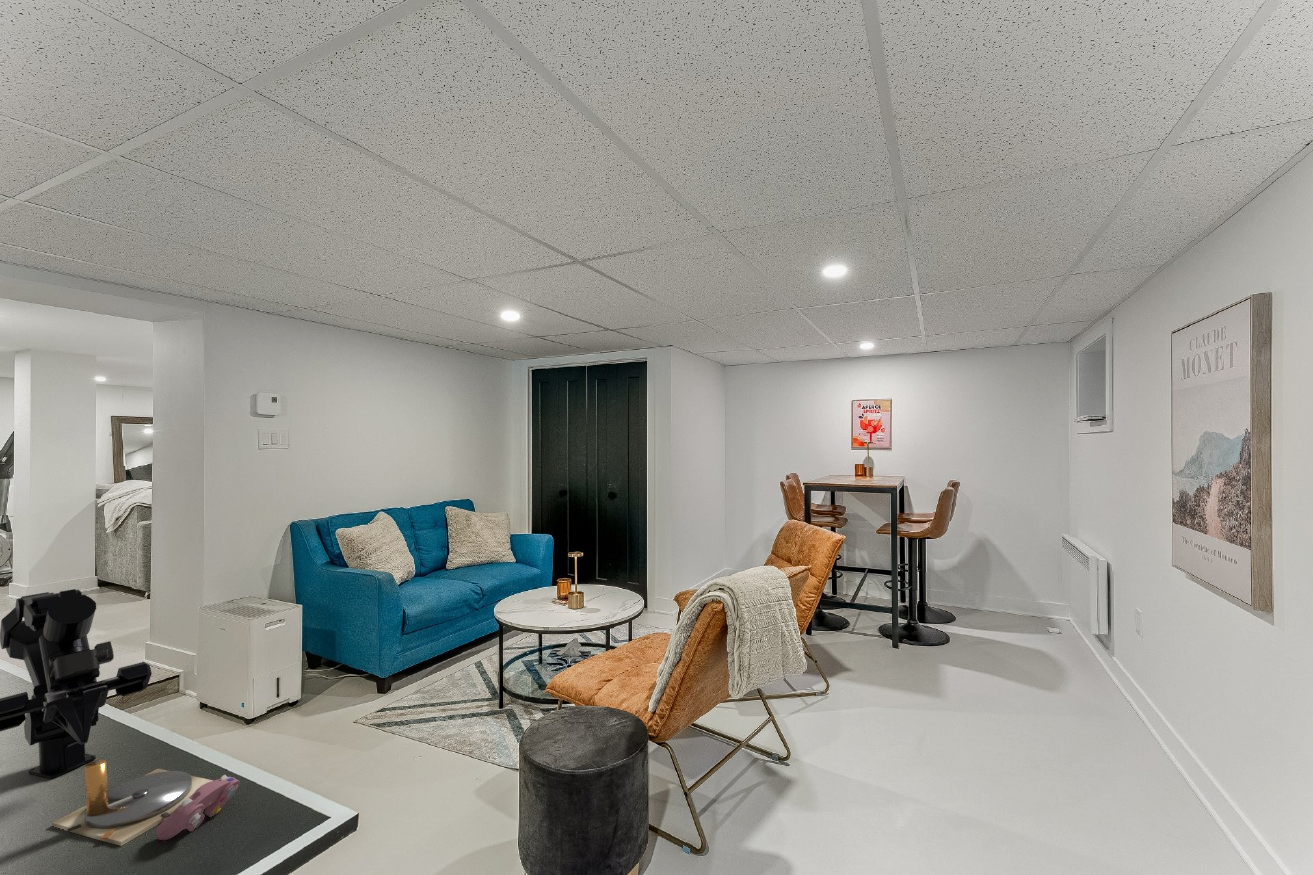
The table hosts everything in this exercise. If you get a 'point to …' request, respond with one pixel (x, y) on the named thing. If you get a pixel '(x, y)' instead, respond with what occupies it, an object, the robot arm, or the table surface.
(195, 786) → the panel
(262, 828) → the table surface
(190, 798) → the video game controller
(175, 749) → the table surface
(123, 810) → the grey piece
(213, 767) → the table surface
